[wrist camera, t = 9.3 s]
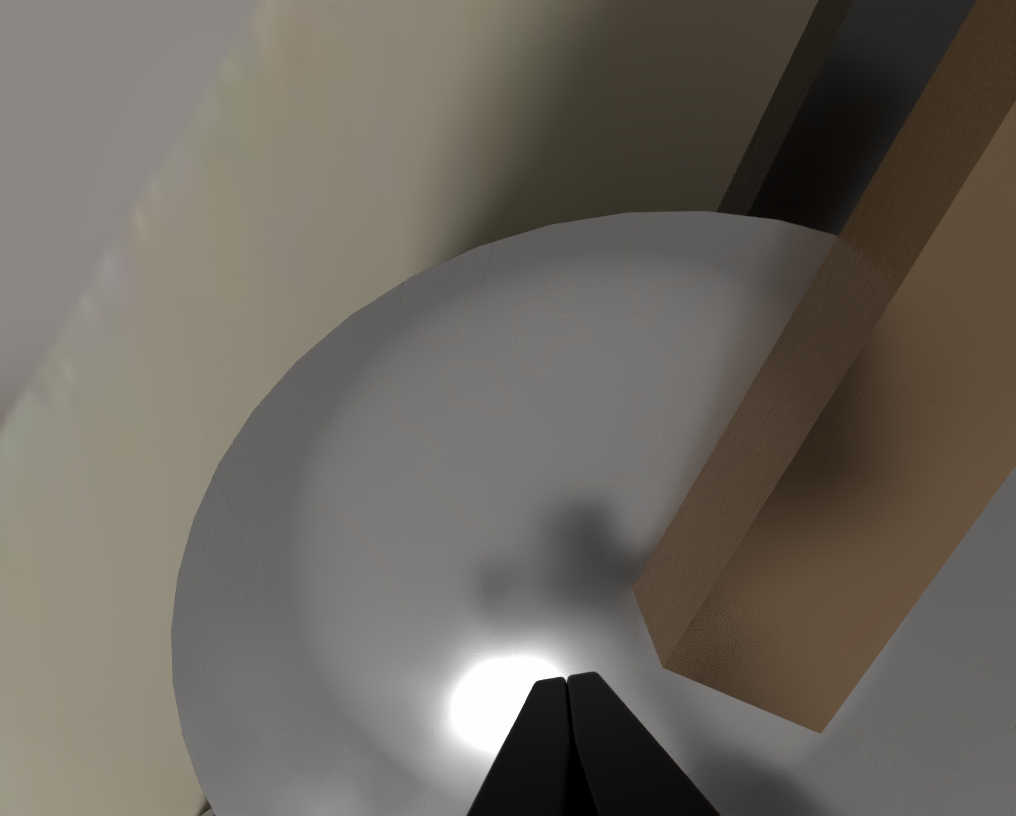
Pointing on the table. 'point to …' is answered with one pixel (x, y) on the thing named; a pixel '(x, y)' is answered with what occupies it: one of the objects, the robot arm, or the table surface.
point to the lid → (645, 504)
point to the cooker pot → (840, 108)
